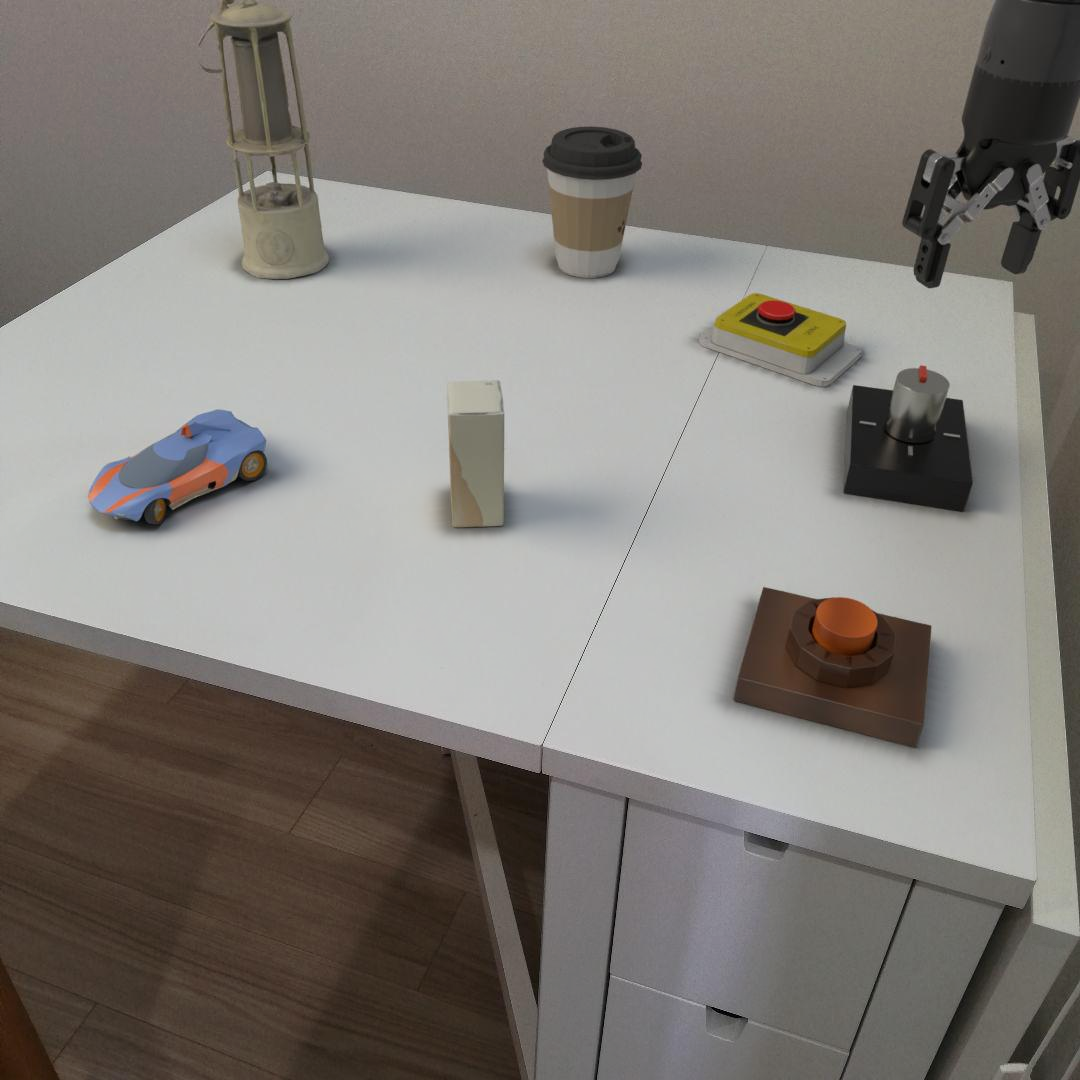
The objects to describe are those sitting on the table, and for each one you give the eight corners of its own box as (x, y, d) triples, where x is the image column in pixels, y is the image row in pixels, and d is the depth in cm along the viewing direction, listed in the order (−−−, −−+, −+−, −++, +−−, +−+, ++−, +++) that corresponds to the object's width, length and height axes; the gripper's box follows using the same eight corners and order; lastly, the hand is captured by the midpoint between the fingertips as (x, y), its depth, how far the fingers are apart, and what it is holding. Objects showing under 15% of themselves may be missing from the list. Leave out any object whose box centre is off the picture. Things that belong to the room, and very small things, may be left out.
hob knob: (936, 446, 92) (952, 393, 88) (884, 439, 92) (897, 386, 89) (934, 421, 95) (949, 368, 92) (883, 413, 96) (897, 361, 93)
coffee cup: (637, 287, 123) (647, 157, 114) (539, 284, 123) (542, 154, 114) (631, 247, 132) (640, 124, 123) (540, 245, 132) (543, 122, 123)
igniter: (924, 647, 76) (938, 606, 74) (915, 748, 69) (930, 705, 66) (758, 608, 79) (767, 567, 77) (733, 700, 72) (741, 658, 69)
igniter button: (874, 624, 73) (880, 605, 72) (869, 662, 70) (874, 643, 69) (816, 610, 74) (820, 591, 73) (808, 647, 71) (812, 628, 70)
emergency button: (743, 276, 115) (872, 316, 108) (738, 313, 118) (864, 354, 111) (700, 305, 110) (833, 349, 103) (695, 343, 112) (825, 389, 105)
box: (450, 492, 90) (446, 378, 83) (501, 490, 90) (500, 376, 84) (452, 530, 86) (447, 413, 79) (505, 528, 86) (505, 411, 79)
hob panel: (963, 511, 89) (973, 481, 87) (843, 493, 91) (850, 462, 89) (954, 427, 100) (963, 398, 98) (846, 411, 102) (853, 383, 100)
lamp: (284, 287, 121) (244, -1, 102) (208, 258, 127) (157, -19, 108) (347, 258, 128) (320, -18, 109) (272, 232, 133) (234, -34, 115)
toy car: (74, 504, 88) (57, 450, 84) (227, 434, 96) (217, 383, 93) (126, 546, 83) (111, 491, 80) (281, 468, 92) (273, 416, 89)
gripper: (986, 85, 70) (926, 309, 80) (1149, 69, 75) (1072, 284, 85) (916, 57, 76) (868, 270, 86) (1072, 43, 80) (1008, 248, 90)
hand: (970, 277), depth 85 cm, fingers open, 8 cm apart
